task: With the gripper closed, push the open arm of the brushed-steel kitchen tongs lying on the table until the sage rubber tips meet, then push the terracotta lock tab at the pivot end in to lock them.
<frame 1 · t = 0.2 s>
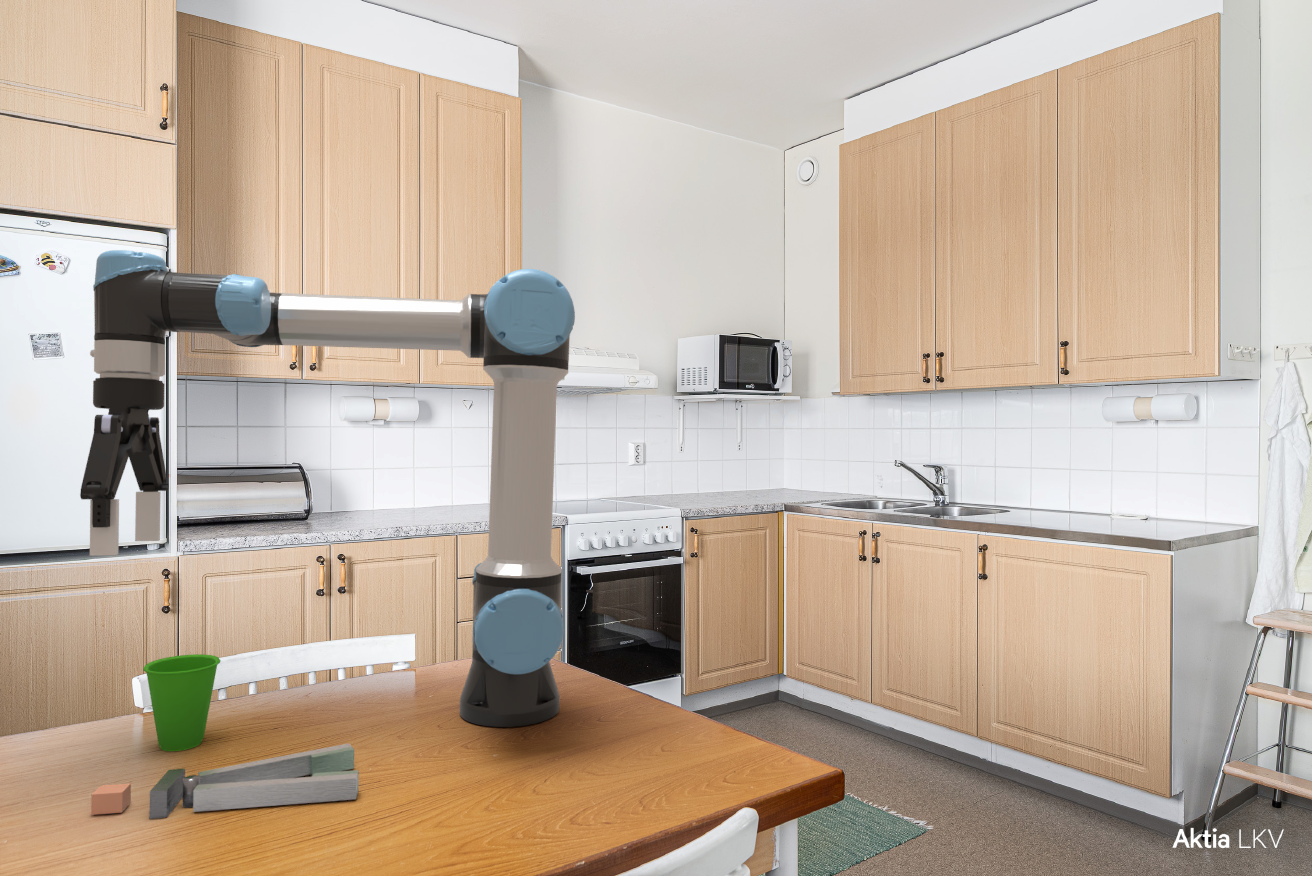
hand: (127, 547, 103), 28 cm above the table, fingers open, 13 cm apart
tongs base: (190, 804, 93), on the table
lock tab: (111, 798, 92), point 1 cm above the table, slide at 3.0 cm
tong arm: (279, 770, 100), point 1 cm above the table, hinge at 22.0°
cup: (181, 746, 111), on the table
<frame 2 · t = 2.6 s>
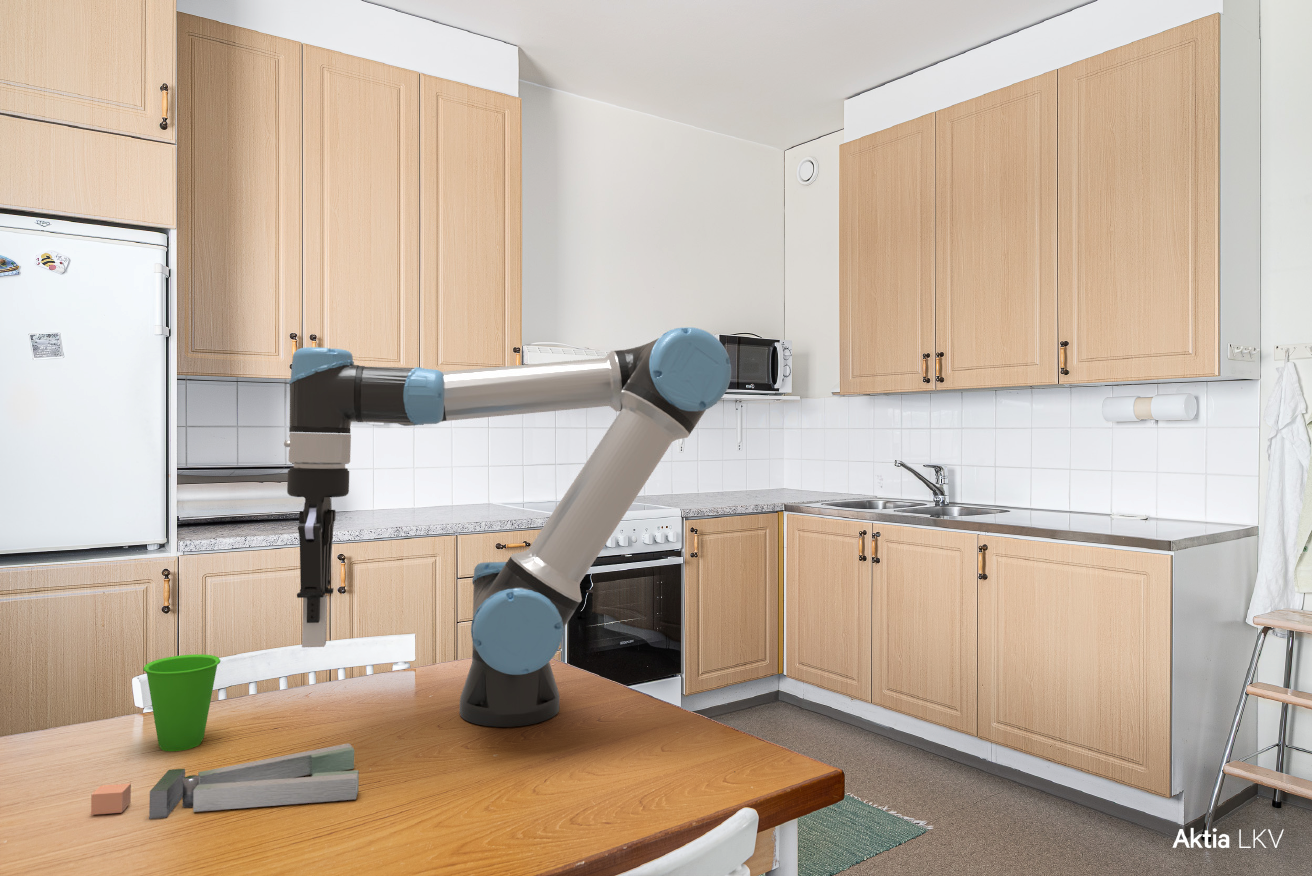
hand: (314, 645, 109), 14 cm above the table, fingers closed
nothing on the table moved.
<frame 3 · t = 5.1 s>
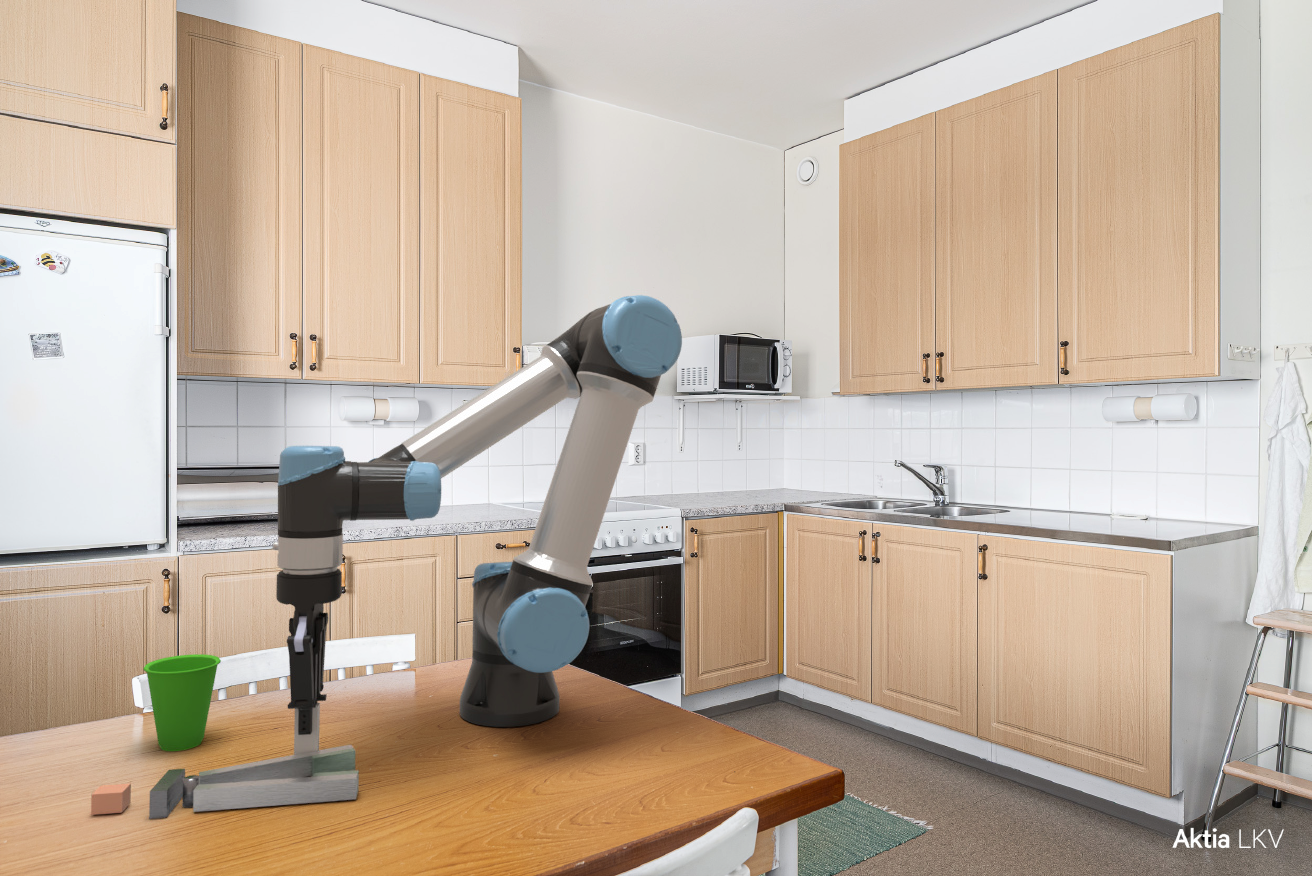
hand: (306, 756, 104), 2 cm above the table, fingers closed
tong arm: (279, 770, 100), point 1 cm above the table, hinge at 20.3°, touching gripper
everything else where it was.
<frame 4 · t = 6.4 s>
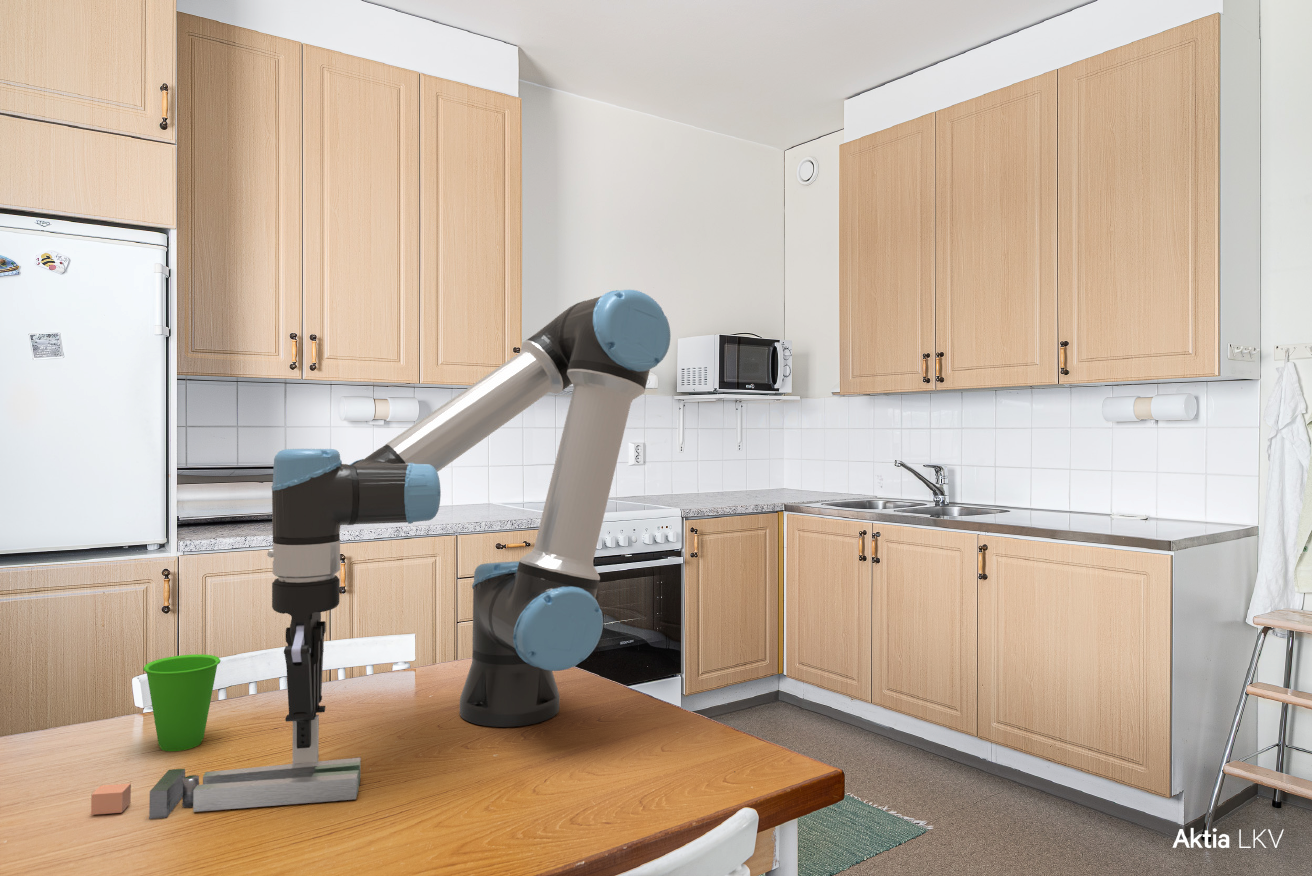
hand: (305, 770, 100), 1 cm above the table, fingers closed
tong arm: (283, 778, 98), point 1 cm above the table, hinge at 4.4°, touching gripper
everything else where it was.
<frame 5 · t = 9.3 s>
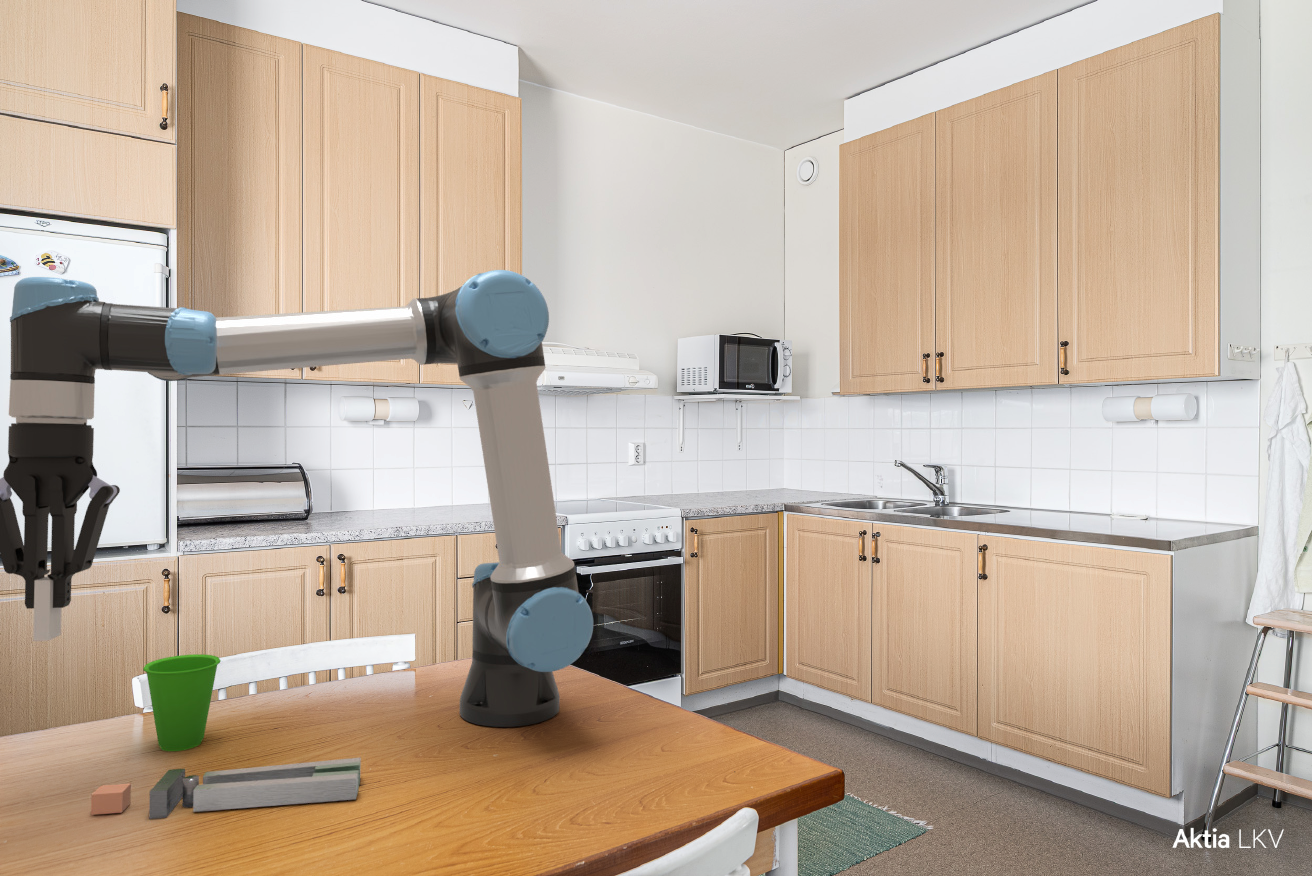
hand: (47, 637, 90), 19 cm above the table, fingers closed
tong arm: (283, 778, 98), point 1 cm above the table, hinge at 4.4°
everything else where it was.
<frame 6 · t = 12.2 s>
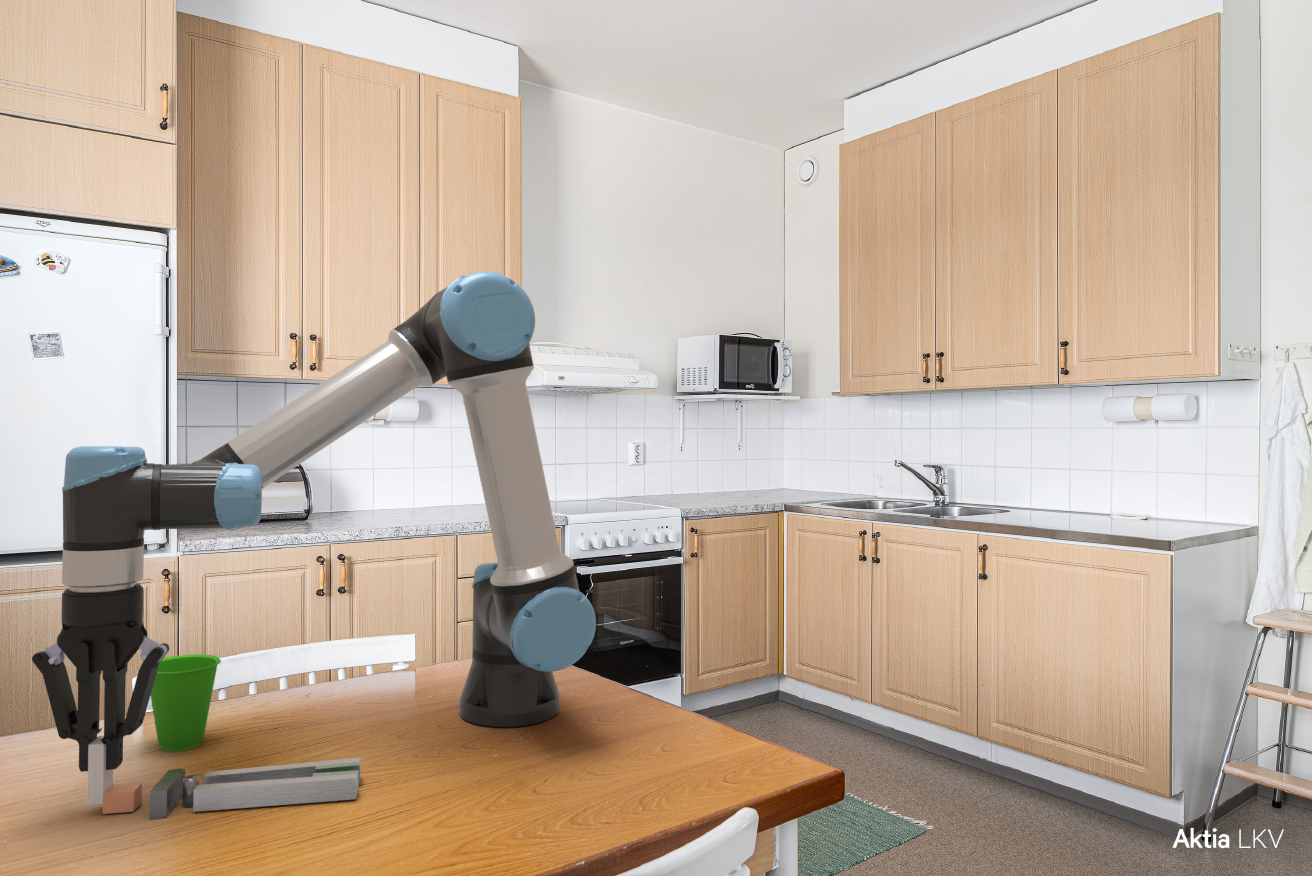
hand: (100, 798, 91), 1 cm above the table, fingers closed
lock tab: (122, 797, 92), point 1 cm above the table, slide at 1.9 cm, touching gripper
everything else where it was.
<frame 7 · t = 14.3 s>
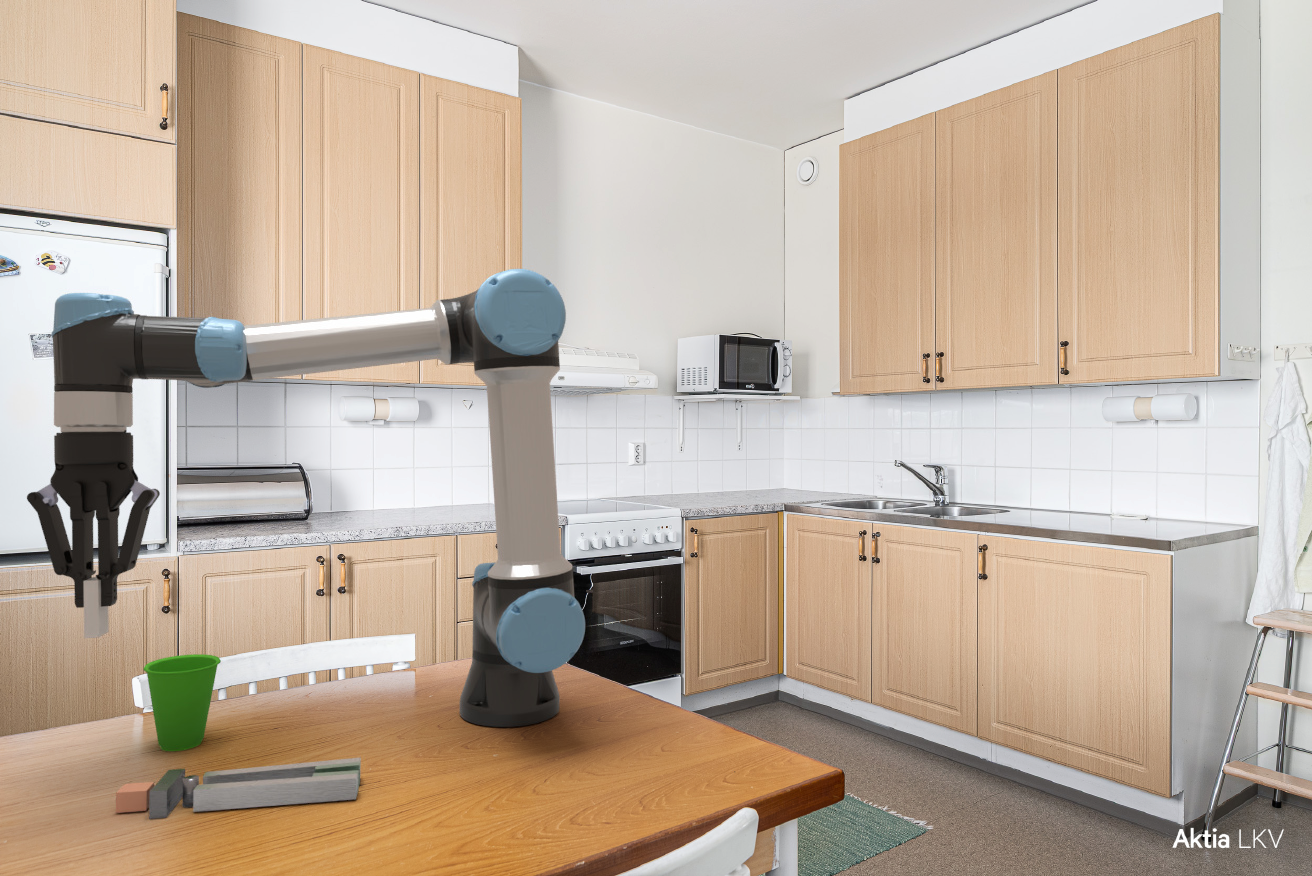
hand: (96, 634, 95), 19 cm above the table, fingers closed
lock tab: (135, 797, 92), point 1 cm above the table, slide at 0.6 cm
everything else where it was.
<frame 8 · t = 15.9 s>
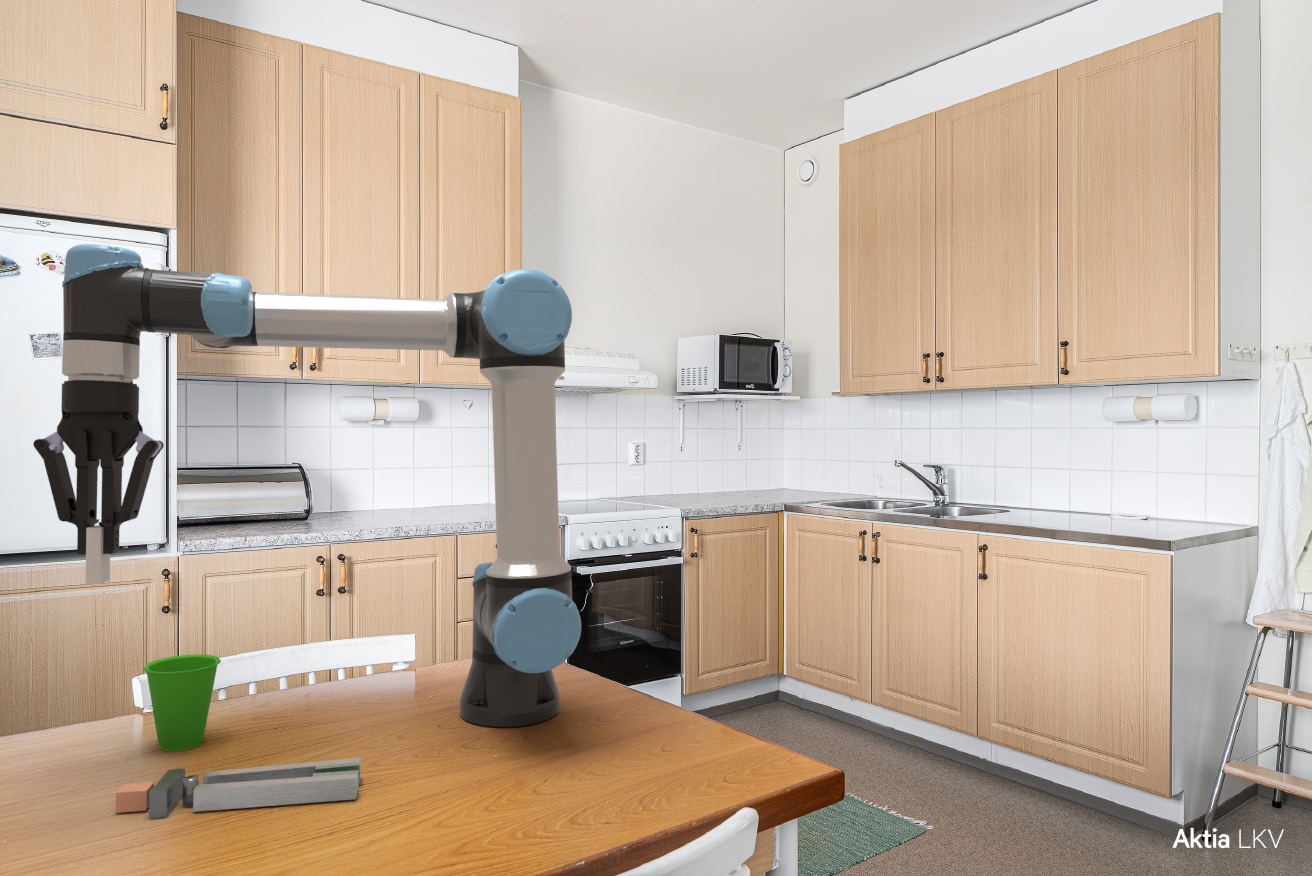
hand: (97, 581, 97), 24 cm above the table, fingers closed
nothing on the table moved.
at the end: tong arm at +4° (first picture: +22°); lock tab slide at 0.6 cm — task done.
